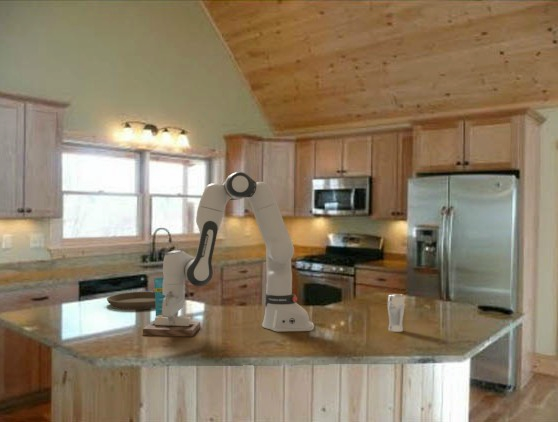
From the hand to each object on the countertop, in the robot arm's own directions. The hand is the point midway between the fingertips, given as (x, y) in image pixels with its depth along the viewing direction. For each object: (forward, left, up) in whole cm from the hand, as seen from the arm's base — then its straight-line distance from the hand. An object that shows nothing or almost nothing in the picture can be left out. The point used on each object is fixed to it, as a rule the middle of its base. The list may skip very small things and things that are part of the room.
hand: (173, 323), depth 195 cm
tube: (+10, -18, -3) cm, 21 cm away
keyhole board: (0, 0, -3) cm, 3 cm away
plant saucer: (+32, -50, -4) cm, 59 cm away
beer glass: (-93, -12, -3) cm, 94 cm away
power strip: (0, 0, -3) cm, 3 cm away
